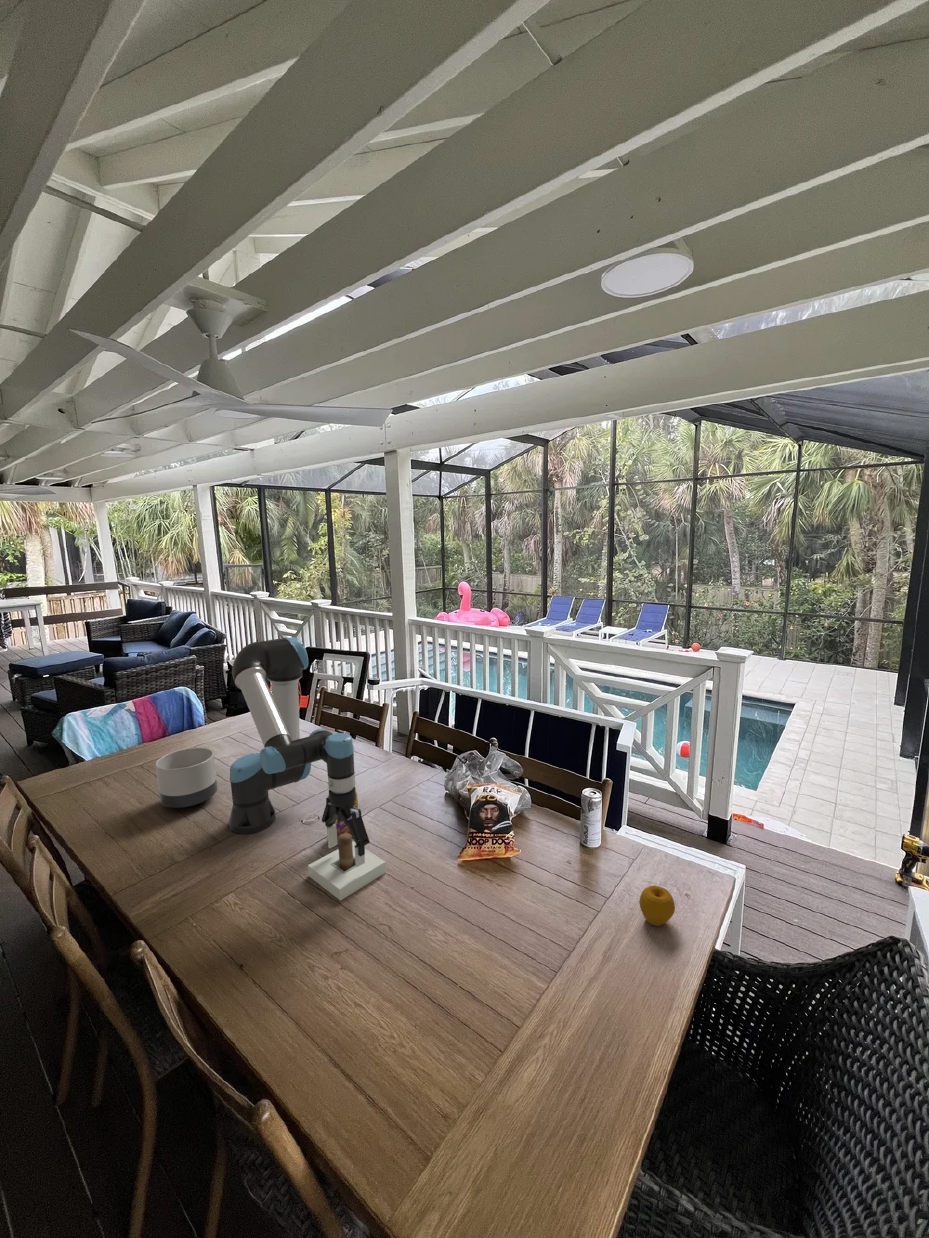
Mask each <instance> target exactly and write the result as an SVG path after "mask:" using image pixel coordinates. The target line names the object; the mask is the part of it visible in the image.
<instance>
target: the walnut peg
mask: <svg viewBox="0 0 929 1238" xmlns="http://www.w3.org/2000/svg"><path fill="white" fill-rule="evenodd" d="M352 841H353V837H352V835H351V834H349V833H344V834H341V835H340V836H339V837H338V842H337V846H338V848H337V849H339V863H340V869H341V870H343V871H344V872H345V871H346V870H348V869H350V868H352V867H353V866H354V863H353V846H352Z"/></svg>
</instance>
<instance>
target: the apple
mask: <svg viewBox="0 0 929 1238" xmlns="http://www.w3.org/2000/svg"><path fill="white" fill-rule="evenodd" d="M675 904H676V903H675V901H674V897H673V895H672V894H671V893H670V892H669V890H668V889H666V888H664V887H662V886H659V885H649V886H647V887H645V888H644V889H643V890H642V892H641V894H640V896H639V907H640V910H641V913H642V915H643V917H644V919H645V920H646V921H647V923H648V924H650V925H652V926H654V927H655V926H656V927H660V926H663V925H665V924H667V923H668V921H669V920H670V919H671V918H672V917H673V915H674V913H675V910H676V906H675Z"/></svg>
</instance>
